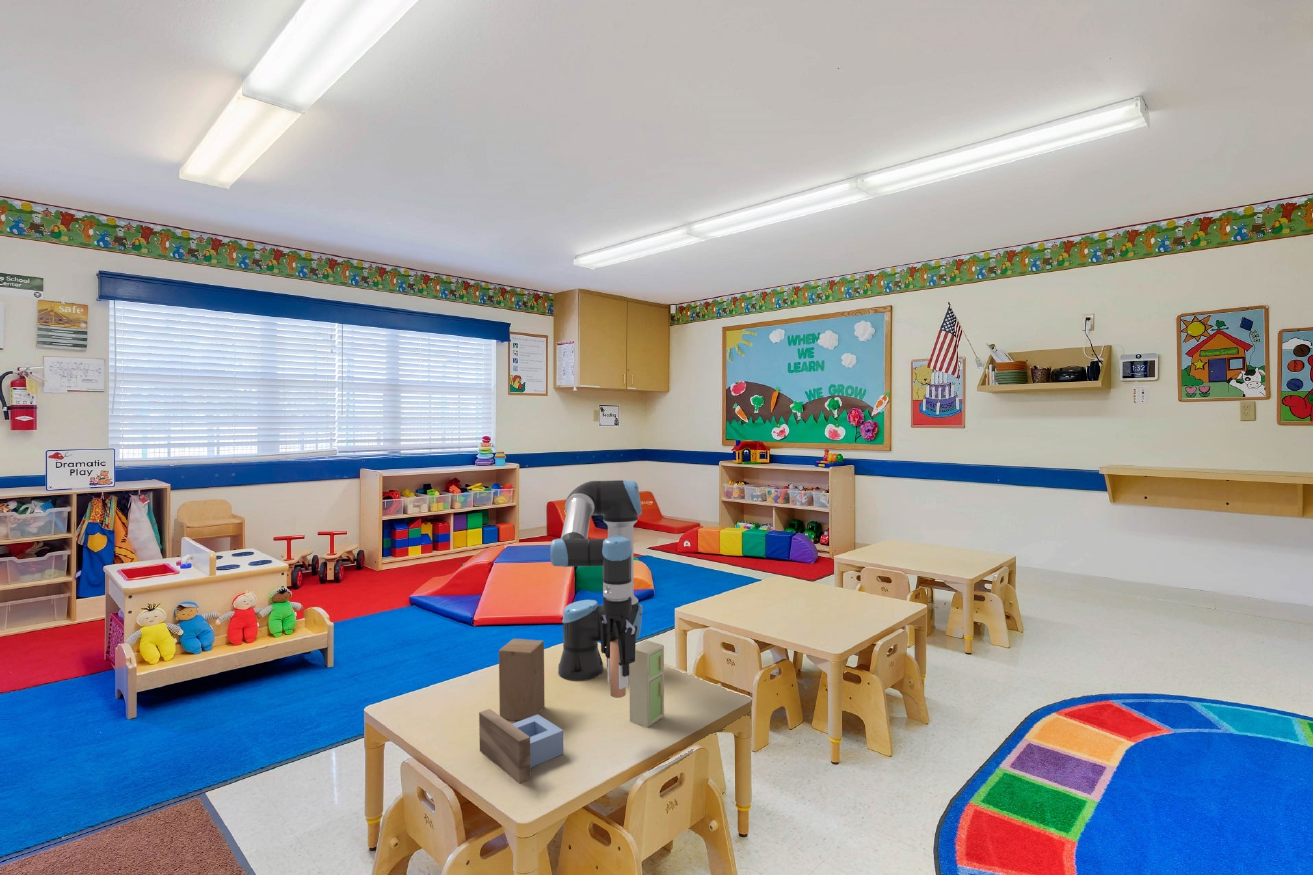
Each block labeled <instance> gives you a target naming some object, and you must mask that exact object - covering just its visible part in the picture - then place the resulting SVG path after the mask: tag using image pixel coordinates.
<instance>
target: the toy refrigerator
mask: <svg viewBox="0 0 1313 875" xmlns="http://www.w3.org/2000/svg"><path fill="white" fill-rule="evenodd" d="M664 717H665V645H664V644H661V643H657V642H653V641H649V640H644V641H642V642H639V643H637V644H636V646H635V662H633V663H630V664H629V721H630V722H632V723H635V724H637V725H639V726H643V727H645V728H649V727H650V726H652V725H653V724H655V723H657V722H658V721H661V719H663V718H664Z"/></svg>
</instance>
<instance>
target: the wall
mask: <svg viewBox="0 0 1313 875" xmlns="http://www.w3.org/2000/svg"><path fill="white" fill-rule="evenodd" d="M478 719H479V720H478V722H479V724H478V725H479V728H478V729H479V731H478V732H479V733H478V734H479V751H480V752H481V753H482V754H483V755H484V756H486V757H487V758H488V759H489V760H490V761H491V762H493V763H494V764H495V765H496V766H497V767H499V768H500V770H502V771H503V772H505V773H506V774H507V775H509V777H511V778H512V779H513V780H514V781H515V782H517V783H518V784H521V783H523V782H526V781H529V780H531V778H532V777H531V775H532V774H531V768H530V737H529V736H528V735H526V734H525V733H524V732H522V731H521V730H519V729H518V728H516V727H515V726H514V725H512V724H513V723H511V722H509V721H508V719H504V718H502V717H501V716H500V714H498V713H496V712H495V711H494V710H492V709H491V708H488V709H485V710H482V711H479V712H478Z"/></svg>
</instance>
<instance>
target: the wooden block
mask: <svg viewBox="0 0 1313 875" xmlns="http://www.w3.org/2000/svg"><path fill="white" fill-rule="evenodd" d="M498 676H499V677H498V686H499V688H498V689H499V690H498V691H499V692H498V693H499V716H501V717H502V718H504V719H505V720H507V721H508V720H509V721H510V720H511V721H517V722H519V721H521V720H524V719H527V718H529V717H532V716H535V715H537V714H538V715H540V713H541V712H542V710H543V709H544V708H545V705H546V704H545V642H544V640H539V639H538V640H536V639H527V638H526V639H524V638H512V639H511V640H510V641H509V642H507V643H505V645H503V646H502V647H501V648H500V649H499V651H498Z"/></svg>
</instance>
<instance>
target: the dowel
mask: <svg viewBox="0 0 1313 875" xmlns="http://www.w3.org/2000/svg"><path fill="white" fill-rule="evenodd" d="M620 662H621V661H620V653H619V646H618V639H616V640H613V641H610V684H609V685H610V689H609V690H610V692H609V693H610V696H611V697H613V698H616V699H617V698H619V699H620V698H623V697H625V696H626V693H627V692H626V690H627V689H626V688H627V687H625V688H622V689H619V663H620Z"/></svg>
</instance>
